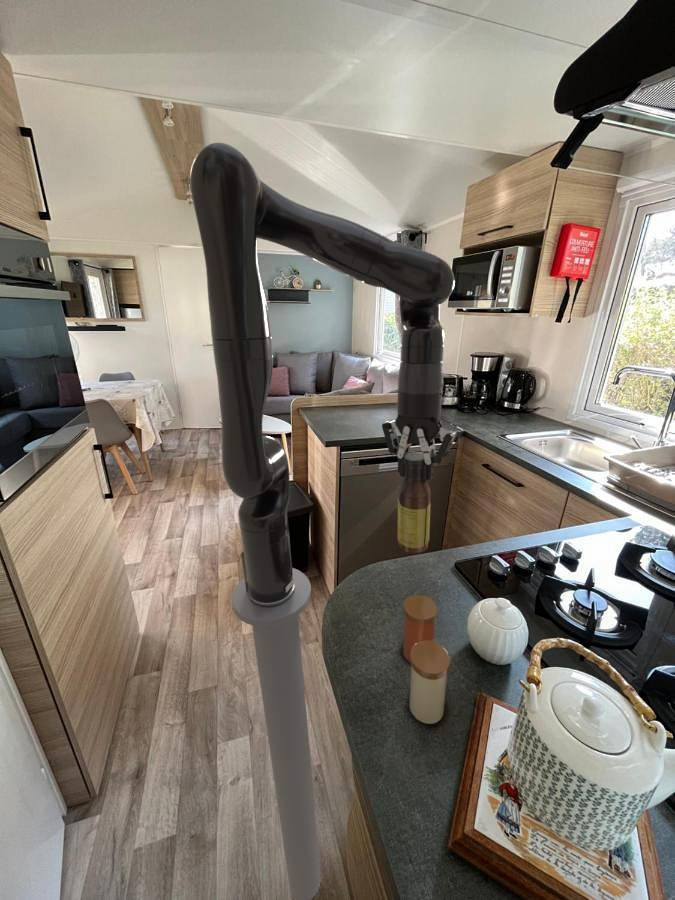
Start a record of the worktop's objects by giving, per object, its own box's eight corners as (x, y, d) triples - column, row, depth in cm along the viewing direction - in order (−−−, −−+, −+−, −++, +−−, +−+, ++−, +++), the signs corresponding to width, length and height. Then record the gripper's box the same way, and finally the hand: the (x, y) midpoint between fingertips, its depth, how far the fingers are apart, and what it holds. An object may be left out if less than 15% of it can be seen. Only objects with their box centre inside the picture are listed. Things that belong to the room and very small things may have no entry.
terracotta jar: (396, 656, 65) (397, 610, 61) (410, 635, 69) (412, 590, 66) (426, 672, 62) (429, 624, 58) (438, 649, 66) (442, 603, 63)
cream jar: (401, 711, 56) (403, 660, 53) (417, 683, 60) (420, 634, 57) (436, 733, 53) (441, 680, 50) (450, 702, 57) (455, 651, 54)
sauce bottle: (413, 533, 81) (417, 446, 74) (435, 548, 76) (442, 456, 69) (389, 544, 78) (392, 454, 71) (411, 560, 73) (415, 464, 66)
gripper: (373, 387, 67) (372, 476, 73) (452, 396, 59) (444, 495, 65) (393, 380, 72) (390, 463, 78) (468, 387, 64) (459, 479, 71)
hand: (415, 477), depth 72 cm, fingers closed on sauce bottle, 4 cm apart
